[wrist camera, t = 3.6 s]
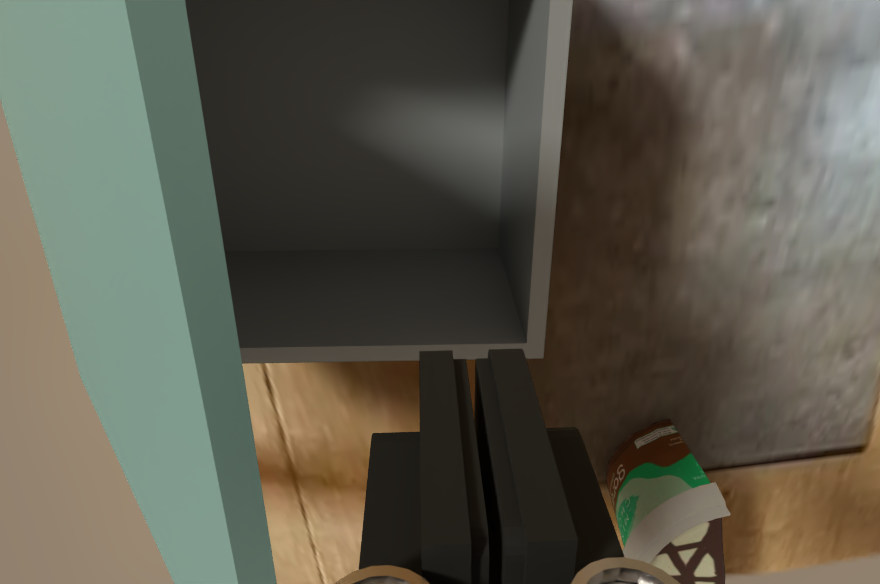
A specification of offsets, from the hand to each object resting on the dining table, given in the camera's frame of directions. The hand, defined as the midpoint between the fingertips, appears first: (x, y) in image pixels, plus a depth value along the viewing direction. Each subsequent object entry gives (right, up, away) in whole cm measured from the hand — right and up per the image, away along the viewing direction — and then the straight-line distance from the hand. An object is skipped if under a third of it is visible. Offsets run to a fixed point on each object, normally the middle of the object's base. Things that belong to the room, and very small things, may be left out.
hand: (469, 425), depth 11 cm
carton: (-6, +12, +25) cm, 29 cm away
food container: (+14, -11, +38) cm, 42 cm away
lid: (-10, +3, +7) cm, 12 cm away
